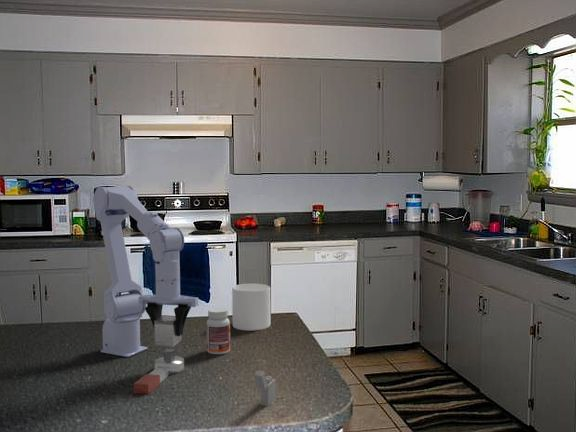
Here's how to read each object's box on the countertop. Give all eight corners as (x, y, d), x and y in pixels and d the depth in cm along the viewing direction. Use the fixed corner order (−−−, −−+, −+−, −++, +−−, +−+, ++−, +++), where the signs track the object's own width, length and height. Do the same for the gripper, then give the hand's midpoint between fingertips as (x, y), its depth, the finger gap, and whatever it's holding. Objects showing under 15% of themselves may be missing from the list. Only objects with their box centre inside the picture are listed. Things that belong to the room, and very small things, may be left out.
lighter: (268, 397, 126) (268, 361, 126) (276, 398, 126) (276, 362, 125) (254, 410, 120) (253, 372, 119) (261, 411, 119) (261, 373, 118)
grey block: (154, 345, 141) (154, 320, 140) (163, 338, 146) (163, 315, 145) (173, 346, 140) (173, 321, 139) (181, 340, 145) (181, 316, 144)
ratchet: (162, 363, 148) (161, 345, 147) (188, 365, 146) (188, 347, 146) (126, 392, 129) (125, 371, 129) (156, 394, 128) (155, 373, 127)
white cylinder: (228, 329, 178) (227, 290, 177) (237, 319, 190) (237, 282, 189) (266, 331, 176) (266, 291, 175) (273, 321, 188) (273, 284, 187)
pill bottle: (234, 352, 157) (233, 310, 156) (213, 356, 153) (212, 313, 152) (223, 346, 162) (223, 305, 161) (203, 350, 158) (202, 309, 157)
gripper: (132, 280, 139) (133, 337, 141) (190, 283, 136) (191, 340, 138) (145, 275, 146) (146, 329, 147) (200, 277, 143) (201, 332, 144)
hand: (168, 334), depth 143 cm, fingers closed on grey block, 5 cm apart
